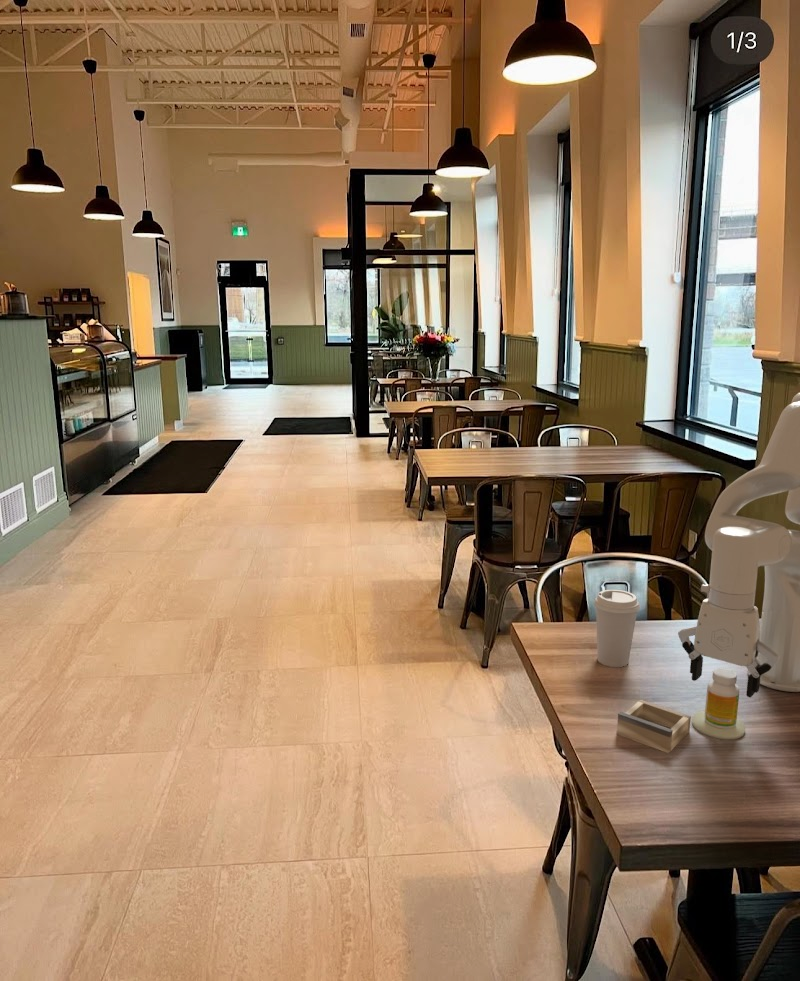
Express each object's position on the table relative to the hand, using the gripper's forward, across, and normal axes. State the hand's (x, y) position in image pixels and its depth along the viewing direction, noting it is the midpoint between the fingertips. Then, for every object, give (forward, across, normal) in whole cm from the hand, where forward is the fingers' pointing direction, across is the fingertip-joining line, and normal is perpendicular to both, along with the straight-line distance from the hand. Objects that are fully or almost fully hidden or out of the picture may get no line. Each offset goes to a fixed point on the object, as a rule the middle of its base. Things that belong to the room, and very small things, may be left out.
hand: (723, 686), depth 139 cm
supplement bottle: (+7, 0, 0) cm, 7 cm away
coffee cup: (+8, -27, +12) cm, 31 cm away
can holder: (+8, -8, -11) cm, 15 cm away
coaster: (+8, 0, -1) cm, 8 cm away
